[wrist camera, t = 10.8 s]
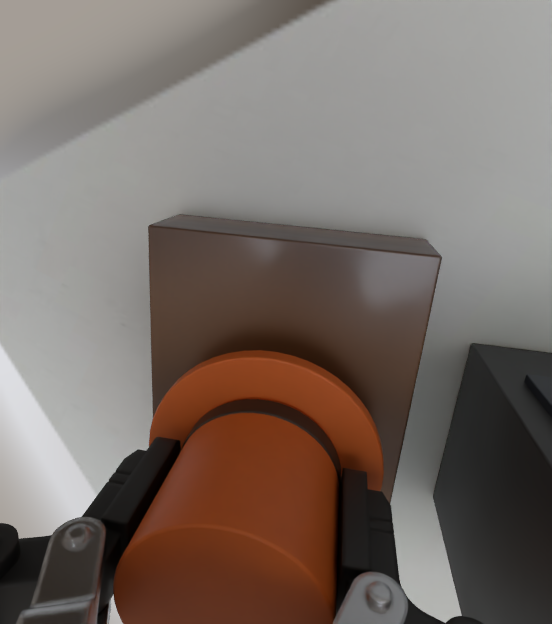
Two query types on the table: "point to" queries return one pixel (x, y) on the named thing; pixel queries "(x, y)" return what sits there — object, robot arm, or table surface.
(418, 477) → the table surface
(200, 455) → the hat
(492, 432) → the black speaker box
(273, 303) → the stand
